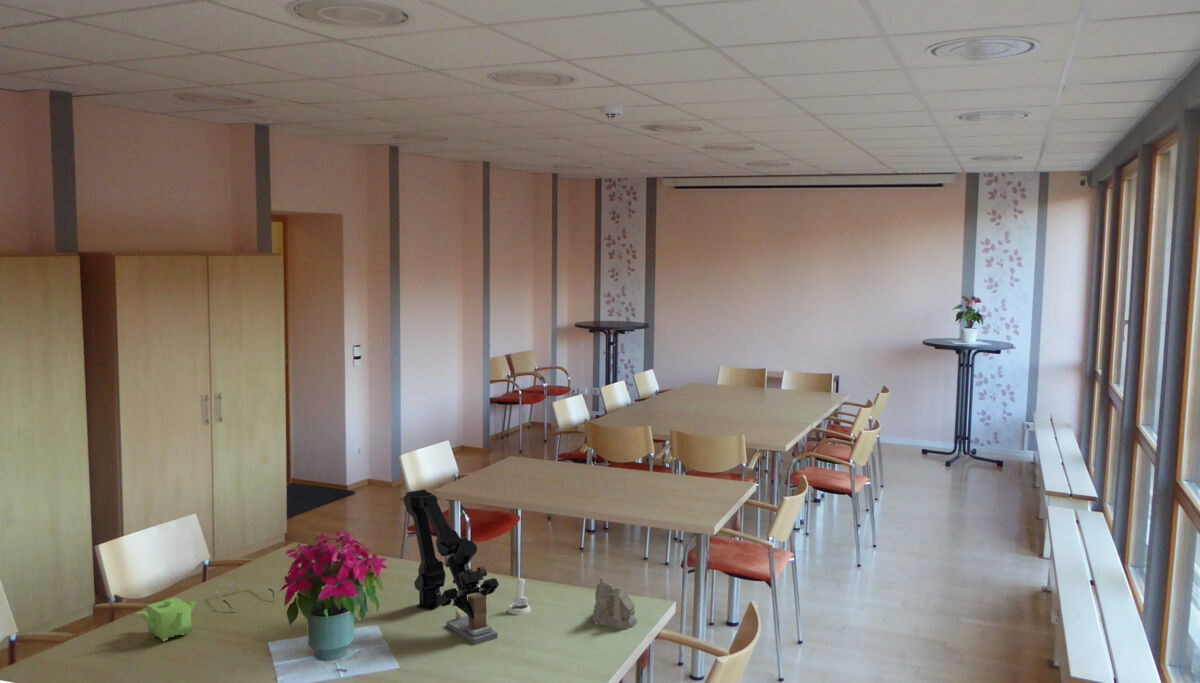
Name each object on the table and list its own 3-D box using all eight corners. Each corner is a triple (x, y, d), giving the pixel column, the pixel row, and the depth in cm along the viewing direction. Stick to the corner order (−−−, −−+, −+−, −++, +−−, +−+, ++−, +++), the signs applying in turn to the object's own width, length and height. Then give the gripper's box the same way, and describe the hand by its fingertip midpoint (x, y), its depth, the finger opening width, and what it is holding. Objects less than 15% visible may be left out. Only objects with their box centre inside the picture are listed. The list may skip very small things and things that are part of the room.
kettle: (184, 644, 280) (182, 608, 279) (136, 646, 279) (134, 610, 278) (202, 624, 295) (200, 590, 294) (156, 626, 294) (154, 592, 293)
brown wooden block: (463, 628, 285) (462, 595, 284) (480, 623, 289) (479, 591, 288) (474, 635, 280) (474, 601, 279) (491, 630, 283) (491, 597, 282)
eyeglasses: (256, 588, 328) (256, 574, 328) (278, 602, 314) (277, 588, 314) (211, 599, 317) (210, 585, 317) (231, 615, 304) (230, 600, 303)
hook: (530, 585, 313) (535, 580, 307) (527, 621, 307) (532, 616, 301) (509, 582, 311) (513, 577, 305) (505, 618, 305) (509, 613, 299)
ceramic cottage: (624, 631, 286) (624, 584, 286) (582, 622, 296) (582, 575, 295) (651, 619, 298) (651, 573, 298) (610, 609, 308) (610, 565, 308)
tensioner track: (446, 625, 292) (445, 613, 292) (468, 619, 297) (467, 607, 297) (474, 644, 278) (474, 631, 277) (497, 637, 283) (497, 625, 282)
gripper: (442, 565, 280) (461, 611, 272) (495, 553, 291) (514, 596, 283) (431, 583, 287) (449, 628, 279) (483, 570, 298) (501, 613, 290)
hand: (479, 616), depth 283 cm, fingers closed on brown wooden block, 4 cm apart
